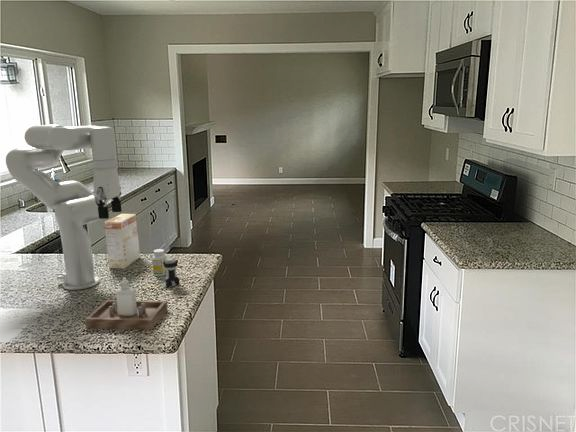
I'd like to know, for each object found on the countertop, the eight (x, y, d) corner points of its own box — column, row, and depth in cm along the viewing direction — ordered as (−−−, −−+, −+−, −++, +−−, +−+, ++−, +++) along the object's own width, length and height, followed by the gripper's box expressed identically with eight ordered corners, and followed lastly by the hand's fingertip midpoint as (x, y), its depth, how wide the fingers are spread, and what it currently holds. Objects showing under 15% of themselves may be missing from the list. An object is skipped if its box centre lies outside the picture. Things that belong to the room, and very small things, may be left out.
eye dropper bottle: (126, 318, 145) (123, 281, 142) (116, 314, 148) (112, 277, 146) (139, 313, 148) (135, 277, 145) (128, 309, 152) (124, 273, 149)
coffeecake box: (125, 256, 210) (121, 213, 205) (140, 257, 209) (136, 213, 204) (108, 268, 195) (103, 221, 191) (124, 268, 194) (120, 222, 190)
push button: (164, 289, 171) (162, 263, 169) (159, 285, 175) (156, 259, 173) (182, 285, 175) (180, 259, 173) (176, 281, 179) (174, 255, 177)
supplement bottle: (157, 277, 184) (155, 253, 182) (150, 274, 188) (148, 250, 186) (170, 273, 187) (168, 250, 185) (163, 270, 191) (161, 247, 189)
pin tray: (86, 328, 143) (84, 314, 142) (107, 308, 156) (106, 295, 155) (151, 329, 141) (150, 315, 140) (167, 309, 154) (166, 296, 153)
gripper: (106, 161, 167) (111, 209, 171) (81, 168, 150) (87, 221, 154) (127, 161, 167) (131, 209, 170) (104, 168, 150) (109, 221, 154)
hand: (110, 215), depth 162 cm, fingers open, 9 cm apart
